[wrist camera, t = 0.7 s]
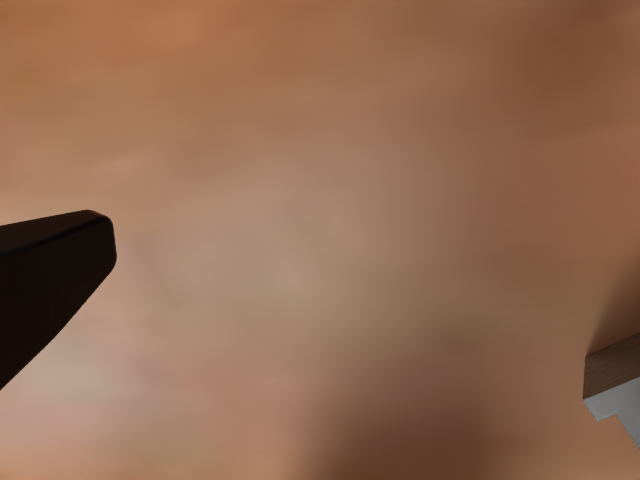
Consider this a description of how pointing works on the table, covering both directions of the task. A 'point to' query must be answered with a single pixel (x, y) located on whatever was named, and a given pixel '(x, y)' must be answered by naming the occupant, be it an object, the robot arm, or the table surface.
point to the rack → (615, 384)
